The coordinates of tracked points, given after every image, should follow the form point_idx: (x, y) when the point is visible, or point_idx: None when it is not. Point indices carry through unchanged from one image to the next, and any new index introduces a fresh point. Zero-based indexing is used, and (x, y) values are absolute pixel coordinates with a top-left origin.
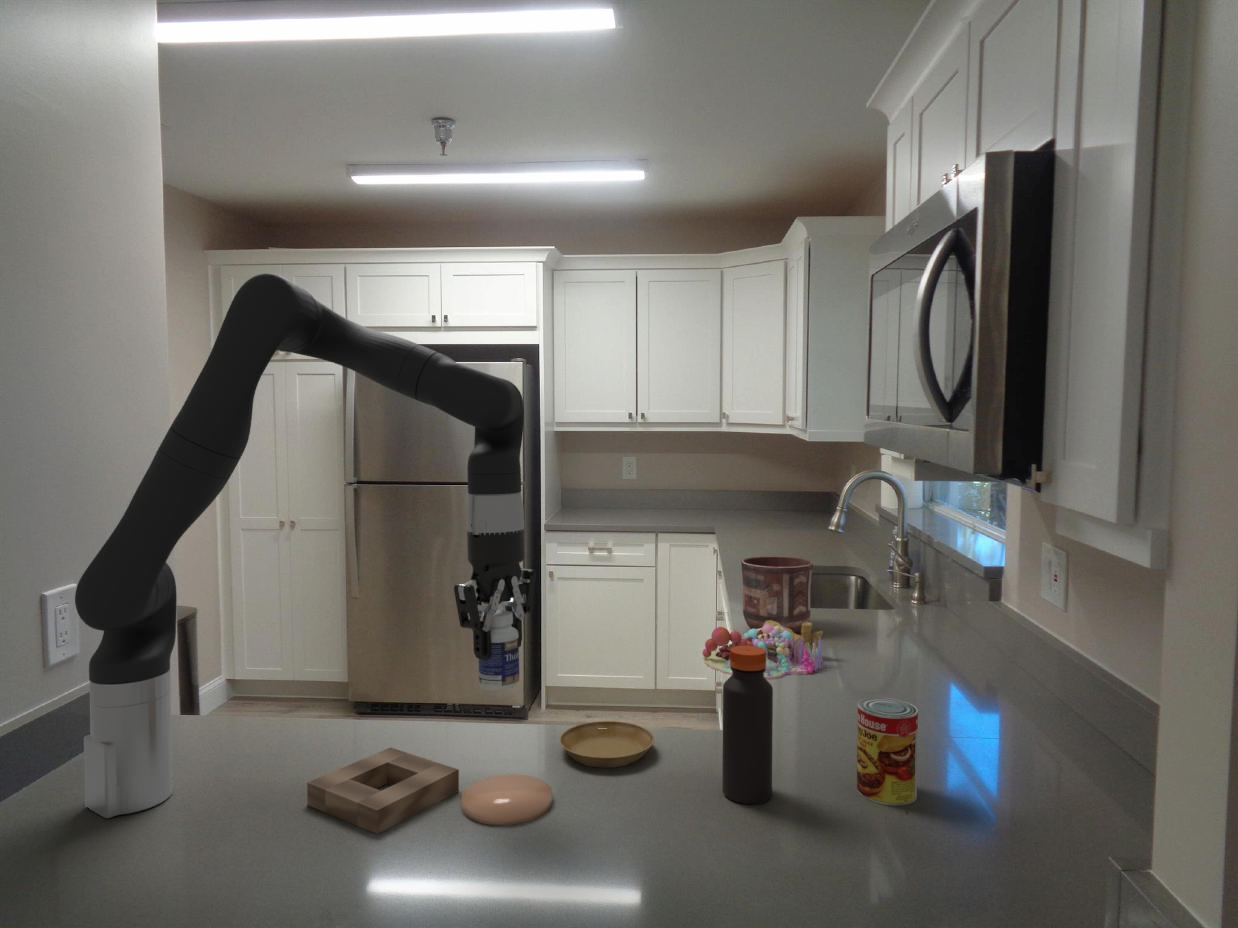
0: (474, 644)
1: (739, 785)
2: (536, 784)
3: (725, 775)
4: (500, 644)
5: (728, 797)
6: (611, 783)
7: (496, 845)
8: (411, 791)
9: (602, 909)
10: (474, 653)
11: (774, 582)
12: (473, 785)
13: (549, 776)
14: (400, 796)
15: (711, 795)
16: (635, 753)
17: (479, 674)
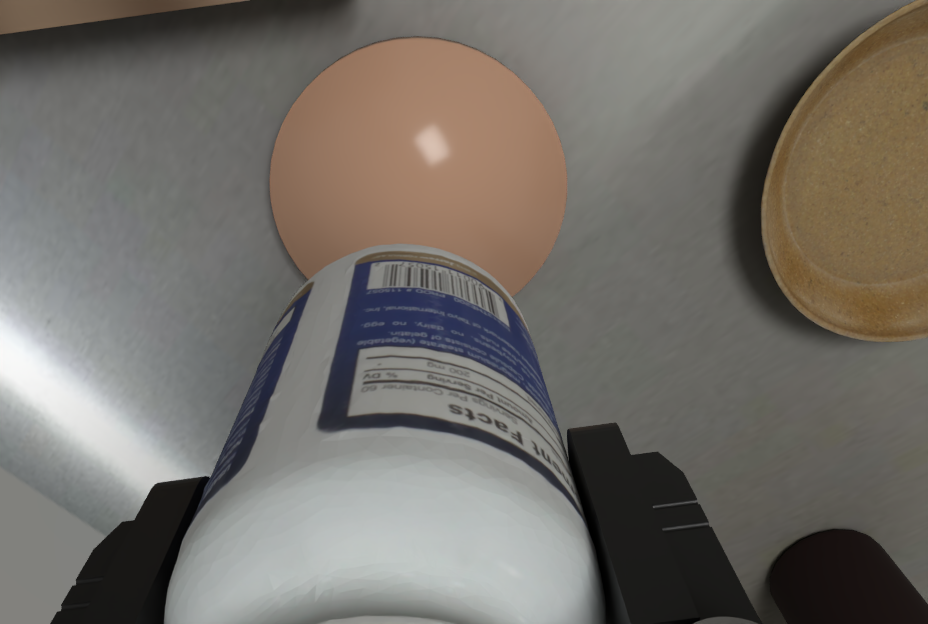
0: (69, 610)
1: (787, 616)
2: (530, 217)
3: (807, 594)
4: None
5: (776, 563)
6: (706, 326)
7: (248, 342)
8: (106, 8)
9: None
10: (112, 531)
11: None
12: (382, 53)
13: (642, 152)
14: (52, 12)
15: (776, 526)
16: (856, 338)
17: (263, 354)
